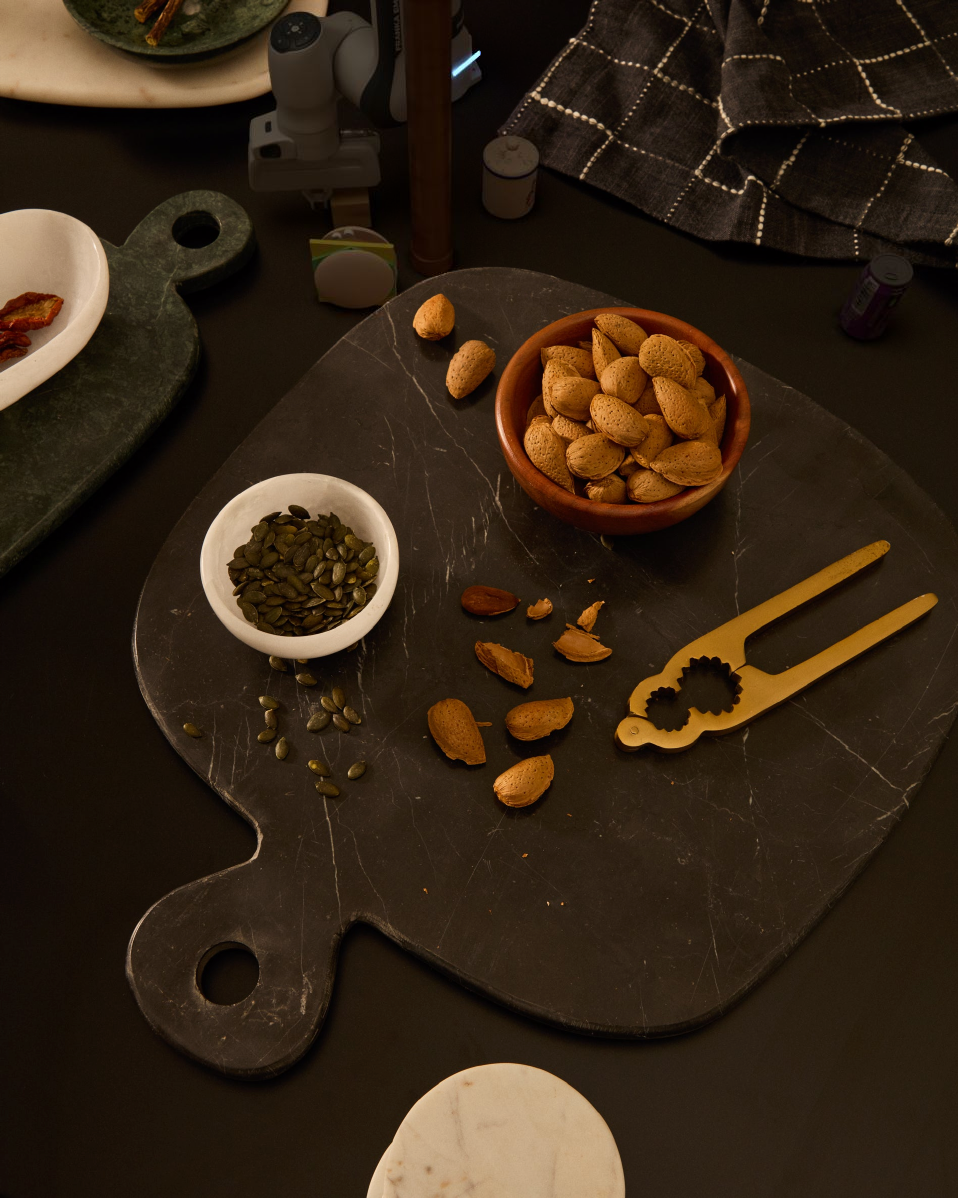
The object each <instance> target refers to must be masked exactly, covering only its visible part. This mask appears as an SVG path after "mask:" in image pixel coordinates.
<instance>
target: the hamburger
mask: <svg viewBox="0 0 958 1198" xmlns="http://www.w3.org/2000/svg"><path fill="white" fill-rule="evenodd" d="M394 246H395V245H394V244H392V243H390V242H389V241H388V240H387V239H386V238H385V237H383V236H382V235H381V234H379V233H378V232H376V231H374V230H372V229H370V228H368V227H367V228H363V227H356V226H347V227H341V228H338V229H335V230H334V229H333V230H331V231H329V232H328V233H327V234H324V236H323V237H322V238H321V239H318V238H317V239H314V238H310V239H309V248H310V254H311V265H312V271H313V276H314V277H313V278H314V285H315V288H316V291H317V297H318V301H319V302H320V303H331V304H333V305H335V306H338V307H341V308H345V309H353V310H356V309H357V310H359V309H366V308H369V307H373V306H381V307H383V306H382V305H383V304H384V303H386V302H387V301H388V300H390V299H391V298H393V297H395V296H396V295H397V281H398V269H397V268H398V259H397V254H396V251H395V249H394ZM397 296H398V295H397Z"/></svg>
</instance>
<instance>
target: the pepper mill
mask: <svg viewBox="0 0 958 1198" xmlns="http://www.w3.org/2000/svg"><path fill="white" fill-rule="evenodd" d="M402 9H403V33H404V57H405V80H406V104H407V123H406V124H407V125H406V126H407V128H406V129H407V147H408V148H407V149H408V172H409V175H408V176H409V194H410V195H409V196H410V197H409V198H410V218H411V221H410V223H411V241H410V242H409V254H410V255H409V256H410V257H409V258H410V265H411V266H412V268H413V269H414V270H415V272H418V274H421V275H424V276H427V277H436V275H437V276H440V275H439V274H441V273H443V274H445V273H447V272H448V271H449V270H450V269H451V268H452V266H453V264H454V243H453V240H452V105H453V104H452V103H453V102H452V0H402ZM444 272H445V273H444ZM441 275H442V274H441Z"/></svg>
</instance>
